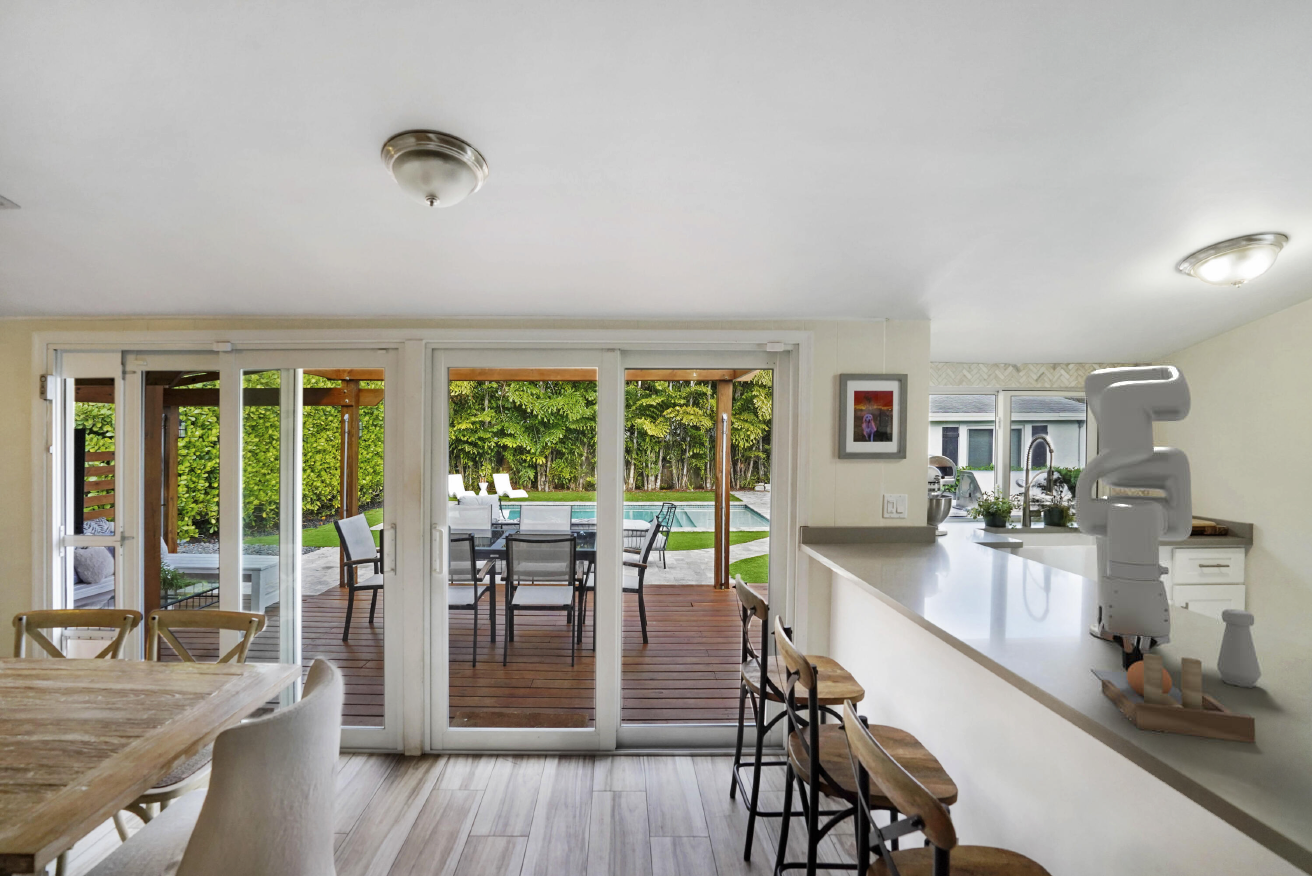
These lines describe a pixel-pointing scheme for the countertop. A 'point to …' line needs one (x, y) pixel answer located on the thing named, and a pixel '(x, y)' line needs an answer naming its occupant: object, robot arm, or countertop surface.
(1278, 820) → the countertop surface
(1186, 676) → the pin back left
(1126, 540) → the robot arm
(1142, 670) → the ball
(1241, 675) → the salt shaker
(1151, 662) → the pin back right
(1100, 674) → the plate
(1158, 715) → the lane rail
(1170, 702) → the pin front
